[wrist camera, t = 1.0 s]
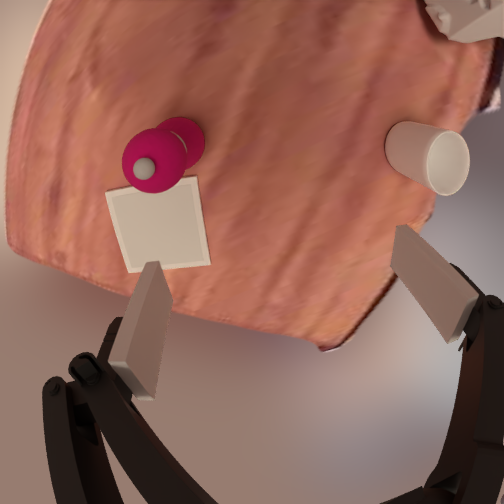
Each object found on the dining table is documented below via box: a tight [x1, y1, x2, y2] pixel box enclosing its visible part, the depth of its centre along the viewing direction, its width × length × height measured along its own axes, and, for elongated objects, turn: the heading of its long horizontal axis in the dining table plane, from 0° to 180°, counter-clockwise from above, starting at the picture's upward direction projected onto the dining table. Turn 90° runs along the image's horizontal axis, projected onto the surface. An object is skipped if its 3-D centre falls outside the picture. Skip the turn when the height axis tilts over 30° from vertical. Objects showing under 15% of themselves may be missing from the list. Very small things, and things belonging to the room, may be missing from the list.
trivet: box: [105, 175, 211, 273], centre depth 42 cm, size 15×15×1 cm
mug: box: [385, 121, 470, 196], centre depth 34 cm, size 9×12×12 cm
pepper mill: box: [122, 117, 205, 194], centre depth 28 cm, size 7×7×20 cm
